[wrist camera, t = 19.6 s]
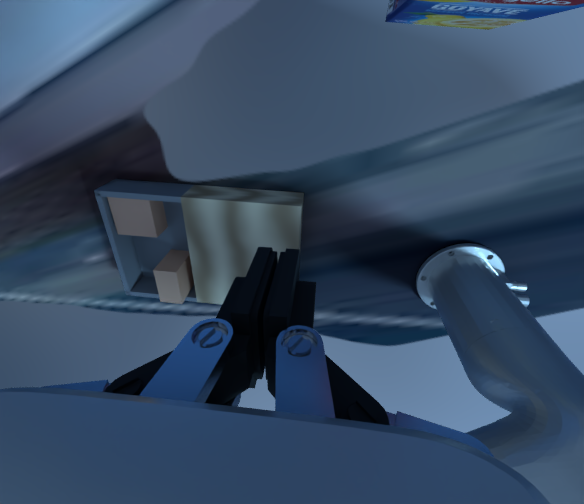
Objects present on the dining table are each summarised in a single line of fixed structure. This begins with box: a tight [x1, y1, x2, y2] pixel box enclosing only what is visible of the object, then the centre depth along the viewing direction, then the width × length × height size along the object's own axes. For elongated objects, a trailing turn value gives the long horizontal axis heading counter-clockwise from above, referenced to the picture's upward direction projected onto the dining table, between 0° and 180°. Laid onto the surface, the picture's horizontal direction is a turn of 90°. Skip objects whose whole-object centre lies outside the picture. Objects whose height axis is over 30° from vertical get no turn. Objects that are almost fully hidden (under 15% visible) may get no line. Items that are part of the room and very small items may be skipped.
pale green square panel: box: [181, 185, 304, 304], centre depth 46 cm, size 16×18×5 cm
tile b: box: [107, 197, 168, 238], centre depth 44 cm, size 6×6×4 cm
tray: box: [94, 179, 197, 302], centre depth 47 cm, size 12×18×5 cm, turn 178°
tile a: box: [153, 249, 194, 304], centre depth 48 cm, size 6×6×4 cm
